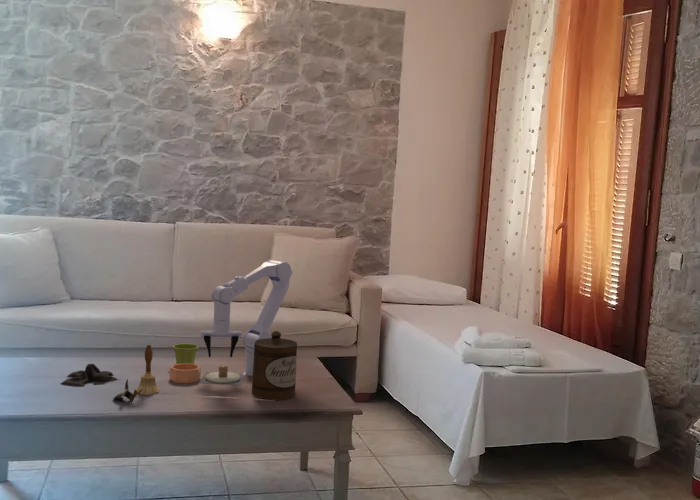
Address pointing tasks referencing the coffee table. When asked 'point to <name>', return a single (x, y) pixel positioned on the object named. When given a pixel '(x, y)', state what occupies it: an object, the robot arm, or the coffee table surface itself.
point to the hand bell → (148, 376)
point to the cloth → (89, 377)
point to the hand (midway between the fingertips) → (220, 356)
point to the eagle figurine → (128, 393)
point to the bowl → (185, 373)
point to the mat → (222, 383)
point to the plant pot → (185, 353)
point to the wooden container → (274, 368)
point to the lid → (222, 376)
